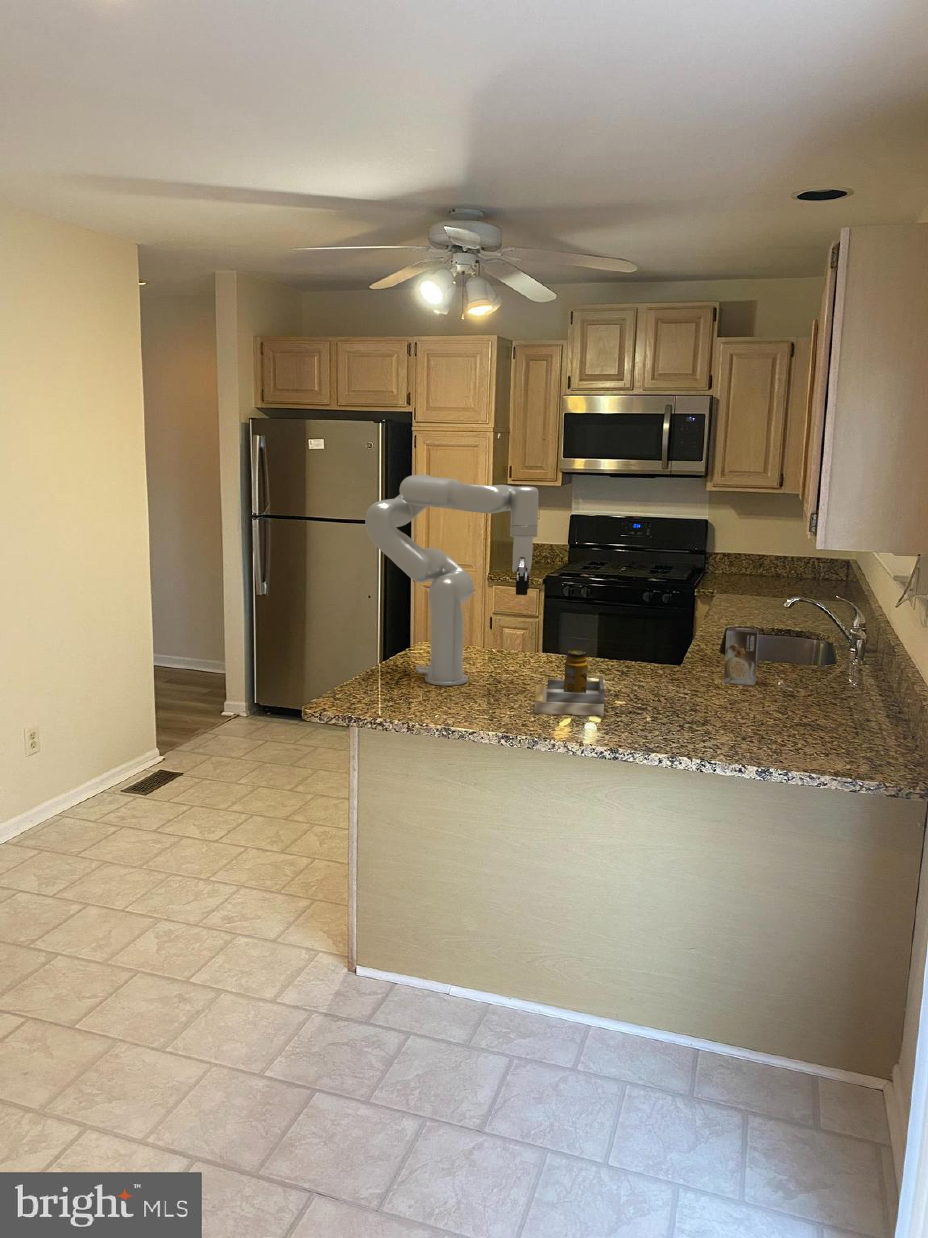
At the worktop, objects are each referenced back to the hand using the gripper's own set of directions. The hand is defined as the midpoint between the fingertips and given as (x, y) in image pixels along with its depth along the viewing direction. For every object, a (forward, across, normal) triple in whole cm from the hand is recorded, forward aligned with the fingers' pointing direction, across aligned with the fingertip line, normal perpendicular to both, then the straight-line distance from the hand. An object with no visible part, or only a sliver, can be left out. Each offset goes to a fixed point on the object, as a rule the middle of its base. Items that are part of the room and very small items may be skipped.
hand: (522, 592), depth 261 cm
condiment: (+26, +15, +15) cm, 33 cm away
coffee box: (+28, -19, +65) cm, 73 cm away
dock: (+28, +15, +14) cm, 35 cm away
